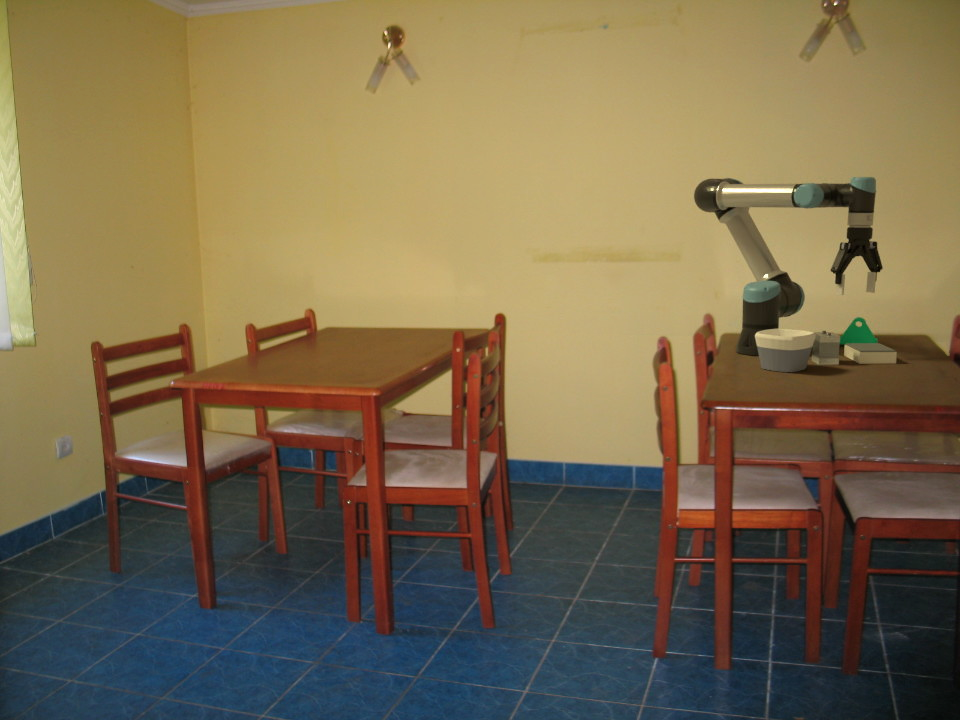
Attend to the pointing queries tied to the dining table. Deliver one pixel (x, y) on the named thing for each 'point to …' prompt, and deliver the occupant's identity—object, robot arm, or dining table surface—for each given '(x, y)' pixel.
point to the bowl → (784, 349)
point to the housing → (826, 348)
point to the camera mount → (858, 333)
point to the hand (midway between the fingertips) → (855, 293)
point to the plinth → (870, 353)
